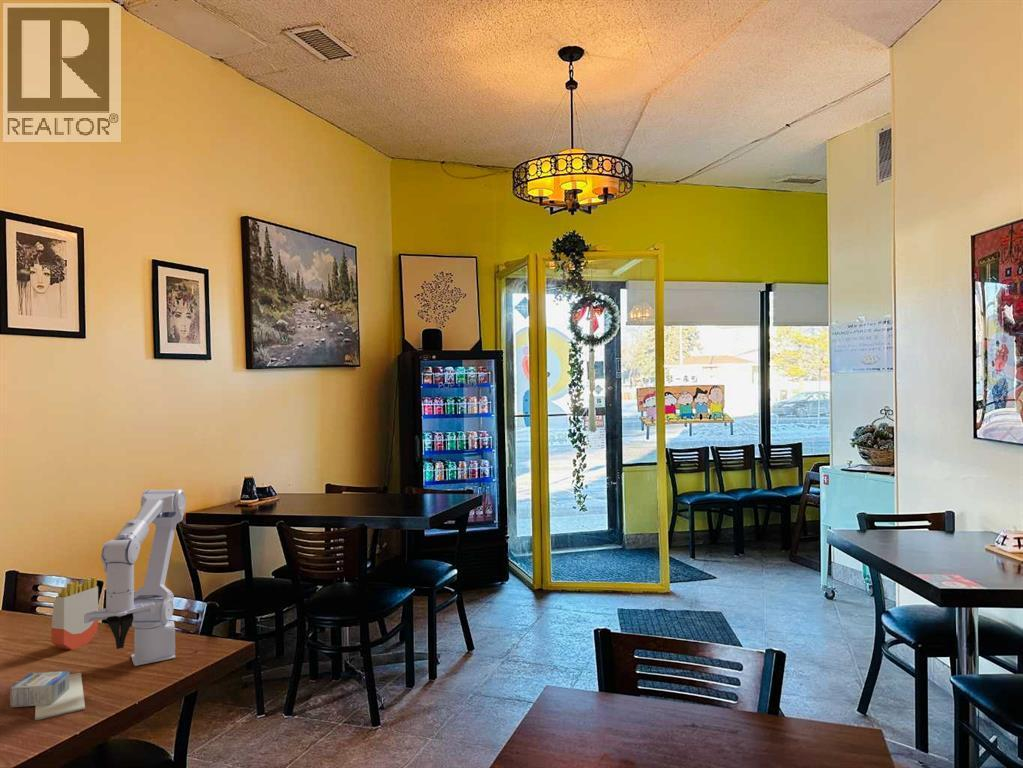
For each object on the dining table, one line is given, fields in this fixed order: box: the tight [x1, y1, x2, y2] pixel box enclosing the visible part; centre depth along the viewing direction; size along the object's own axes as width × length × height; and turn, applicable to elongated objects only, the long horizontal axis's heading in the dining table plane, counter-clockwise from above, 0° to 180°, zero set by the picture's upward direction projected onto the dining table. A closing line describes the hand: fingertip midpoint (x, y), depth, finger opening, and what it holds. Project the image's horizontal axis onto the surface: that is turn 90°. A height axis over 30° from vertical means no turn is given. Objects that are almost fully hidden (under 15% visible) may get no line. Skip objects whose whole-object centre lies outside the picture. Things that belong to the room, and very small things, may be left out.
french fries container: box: [50, 576, 99, 651], centre depth 186 cm, size 5×11×18 cm, turn 166°
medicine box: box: [9, 670, 70, 708], centre depth 153 cm, size 8×4×9 cm
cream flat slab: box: [34, 672, 86, 721], centre depth 155 cm, size 9×22×1 cm, turn 34°
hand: (119, 647), depth 161 cm, fingers closed
